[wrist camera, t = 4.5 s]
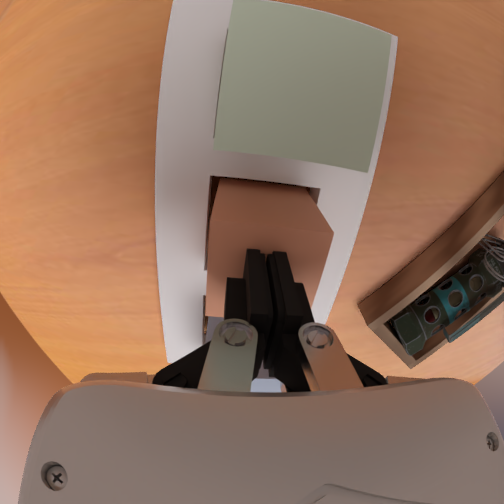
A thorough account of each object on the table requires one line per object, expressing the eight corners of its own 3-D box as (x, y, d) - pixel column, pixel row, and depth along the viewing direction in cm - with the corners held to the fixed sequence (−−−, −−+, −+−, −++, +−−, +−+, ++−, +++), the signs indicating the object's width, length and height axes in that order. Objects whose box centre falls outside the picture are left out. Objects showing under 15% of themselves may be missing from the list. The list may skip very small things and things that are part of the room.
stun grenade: (393, 326, 25) (494, 255, 21) (417, 377, 20) (527, 293, 16) (377, 293, 22) (493, 211, 18) (408, 352, 17) (537, 250, 13)
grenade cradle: (506, 167, 16) (525, 177, 14) (521, 244, 20) (534, 256, 18) (357, 304, 22) (367, 325, 20) (402, 352, 26) (410, 369, 24)
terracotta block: (220, 177, 16) (210, 220, 11) (304, 187, 16) (334, 233, 11) (214, 252, 18) (205, 315, 13) (289, 259, 19) (306, 322, 14)
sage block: (236, 37, 11) (233, -3, 6) (335, 55, 11) (391, 35, 6) (224, 130, 13) (213, 149, 8) (320, 143, 14) (367, 173, 8)
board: (181, 6, 11) (174, -4, 9) (382, 41, 12) (398, 36, 10) (171, 345, 24) (167, 362, 22) (301, 353, 25) (305, 370, 23)
